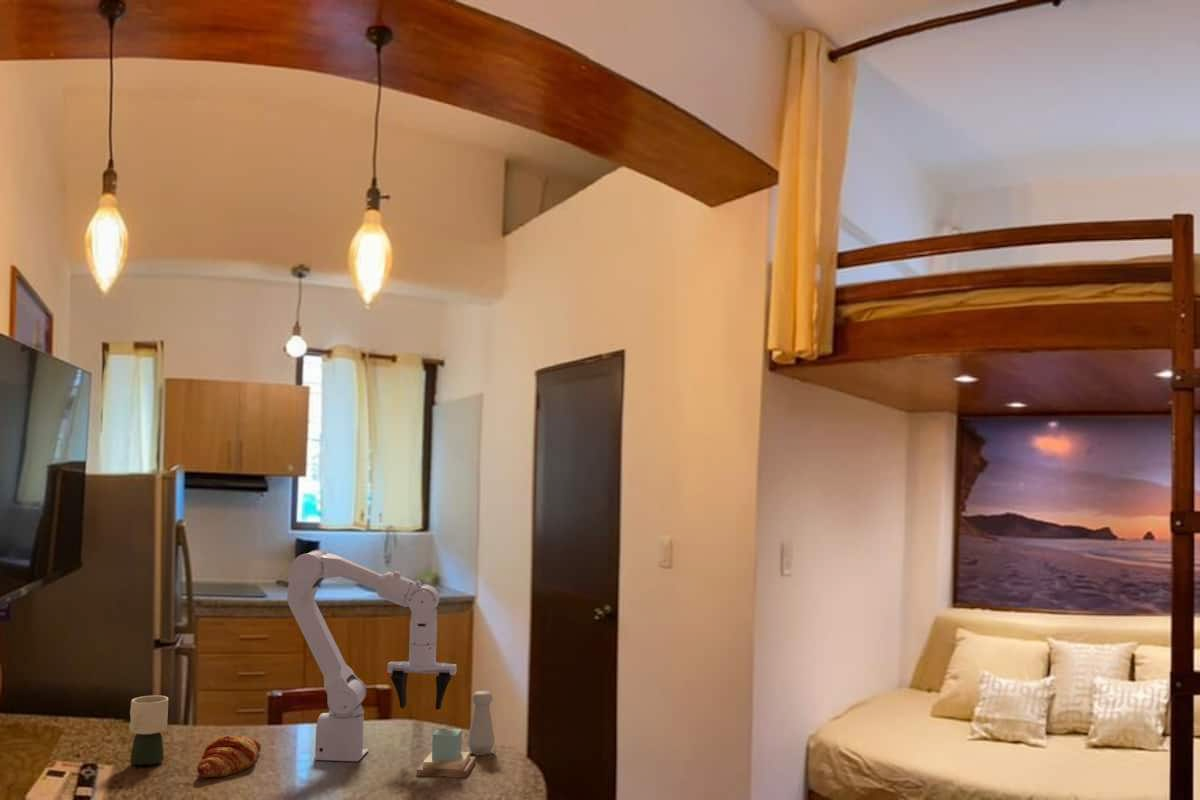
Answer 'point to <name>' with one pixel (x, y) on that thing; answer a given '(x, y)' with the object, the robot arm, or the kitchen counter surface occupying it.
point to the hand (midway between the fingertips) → (420, 707)
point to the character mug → (148, 728)
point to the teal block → (446, 744)
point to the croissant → (228, 756)
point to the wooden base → (446, 766)
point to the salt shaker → (481, 725)
